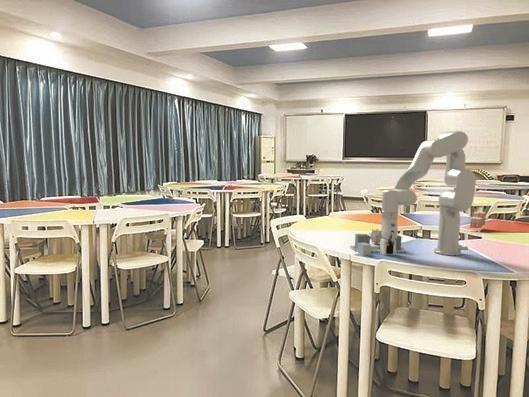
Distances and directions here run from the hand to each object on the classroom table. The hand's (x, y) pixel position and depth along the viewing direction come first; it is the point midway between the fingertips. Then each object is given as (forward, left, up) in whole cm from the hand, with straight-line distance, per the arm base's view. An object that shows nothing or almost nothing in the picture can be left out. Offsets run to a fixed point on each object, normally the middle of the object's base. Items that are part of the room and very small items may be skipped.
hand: (387, 252), depth 208 cm
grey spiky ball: (-3, -26, -1) cm, 26 cm away
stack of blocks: (-93, -84, -1) cm, 125 cm away
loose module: (0, 0, -1) cm, 1 cm away
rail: (+2, -9, -1) cm, 9 cm away
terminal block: (+12, +1, -1) cm, 12 cm away
